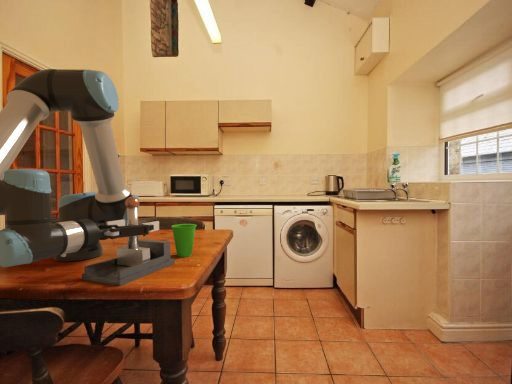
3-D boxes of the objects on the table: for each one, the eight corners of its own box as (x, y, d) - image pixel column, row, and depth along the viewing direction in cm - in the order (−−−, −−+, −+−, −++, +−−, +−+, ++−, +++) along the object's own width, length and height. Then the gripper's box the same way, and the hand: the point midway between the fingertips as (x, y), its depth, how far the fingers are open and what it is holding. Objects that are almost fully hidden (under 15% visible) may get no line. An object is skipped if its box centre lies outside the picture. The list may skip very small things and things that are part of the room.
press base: (120, 285, 72) (119, 256, 71) (81, 279, 77) (81, 252, 77) (174, 263, 92) (174, 240, 92) (141, 259, 97) (141, 238, 97)
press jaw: (141, 267, 81) (140, 197, 81) (115, 264, 85) (114, 197, 84) (151, 264, 85) (150, 196, 84) (126, 261, 89) (124, 196, 88)
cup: (200, 252, 107) (199, 223, 106) (192, 258, 98) (191, 227, 97) (177, 252, 107) (176, 223, 107) (167, 258, 98) (166, 227, 98)
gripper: (42, 248, 72) (111, 234, 92) (113, 255, 63) (173, 238, 83) (41, 219, 72) (110, 211, 92) (112, 222, 63) (173, 213, 83)
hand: (140, 224), depth 88 cm, fingers open, 13 cm apart
